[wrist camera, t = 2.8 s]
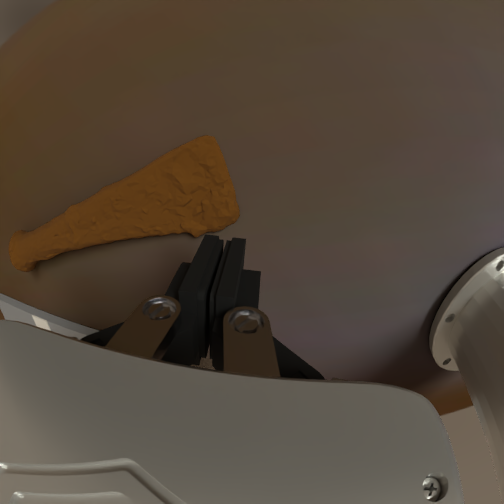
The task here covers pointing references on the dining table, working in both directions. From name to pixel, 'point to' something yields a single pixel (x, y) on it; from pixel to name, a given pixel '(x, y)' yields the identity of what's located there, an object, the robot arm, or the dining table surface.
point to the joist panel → (41, 318)
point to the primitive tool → (141, 206)
